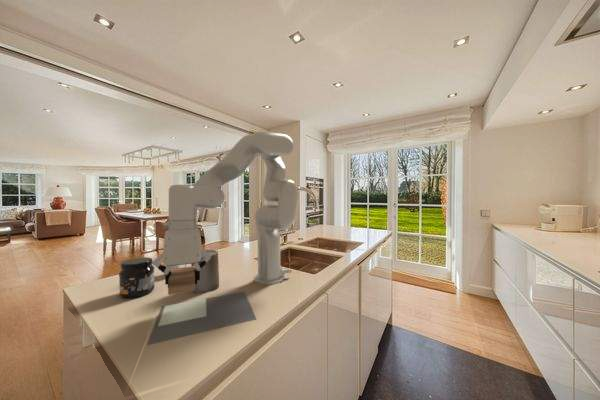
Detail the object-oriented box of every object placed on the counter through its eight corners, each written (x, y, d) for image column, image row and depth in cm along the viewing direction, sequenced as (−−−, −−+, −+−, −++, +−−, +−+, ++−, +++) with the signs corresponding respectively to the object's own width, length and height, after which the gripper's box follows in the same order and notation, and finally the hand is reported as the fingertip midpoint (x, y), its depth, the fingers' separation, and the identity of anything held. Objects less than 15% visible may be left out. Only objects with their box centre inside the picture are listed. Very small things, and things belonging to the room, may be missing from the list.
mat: (244, 292, 81) (244, 290, 81) (256, 320, 62) (256, 318, 62) (161, 307, 70) (161, 305, 70) (147, 346, 52) (147, 344, 52)
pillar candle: (215, 281, 92) (214, 245, 92) (222, 288, 84) (221, 250, 84) (189, 287, 86) (188, 249, 86) (194, 296, 78) (193, 254, 78)
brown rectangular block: (194, 290, 63) (194, 276, 63) (168, 294, 60) (168, 279, 60) (195, 278, 73) (195, 265, 73) (173, 280, 70) (173, 268, 70)
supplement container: (116, 294, 81) (115, 261, 80) (149, 284, 89) (148, 255, 88) (123, 302, 74) (122, 267, 74) (158, 291, 82) (158, 260, 82)
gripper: (146, 228, 60) (146, 294, 60) (214, 225, 67) (214, 284, 67) (151, 225, 67) (152, 284, 67) (213, 223, 74) (213, 276, 74)
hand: (183, 283), depth 67 cm, fingers closed on brown rectangular block, 6 cm apart
